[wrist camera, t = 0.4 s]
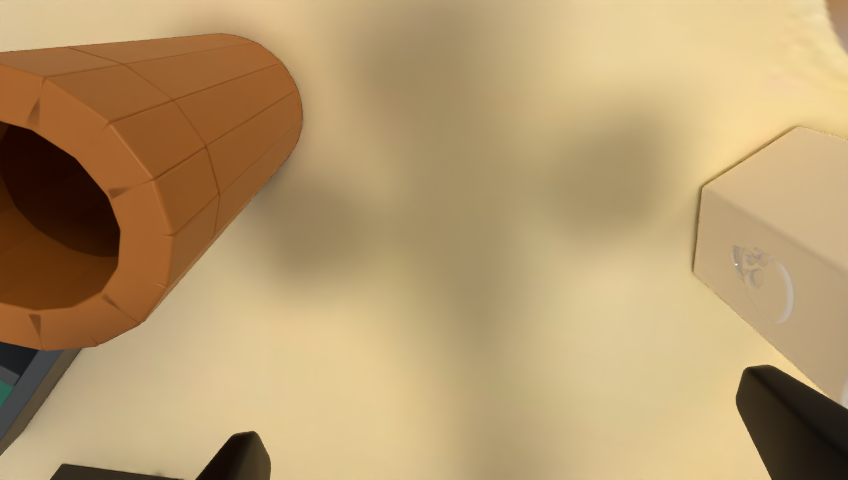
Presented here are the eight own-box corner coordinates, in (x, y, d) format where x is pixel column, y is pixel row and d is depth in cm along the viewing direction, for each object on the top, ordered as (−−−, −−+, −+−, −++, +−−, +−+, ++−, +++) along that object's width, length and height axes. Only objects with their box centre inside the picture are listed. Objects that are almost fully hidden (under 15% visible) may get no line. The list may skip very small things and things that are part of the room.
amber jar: (314, 169, 22) (207, 337, 10) (184, 181, 22) (-65, 362, 10) (287, 27, 19) (110, 41, 8) (141, 41, 19) (-242, 75, 8)
